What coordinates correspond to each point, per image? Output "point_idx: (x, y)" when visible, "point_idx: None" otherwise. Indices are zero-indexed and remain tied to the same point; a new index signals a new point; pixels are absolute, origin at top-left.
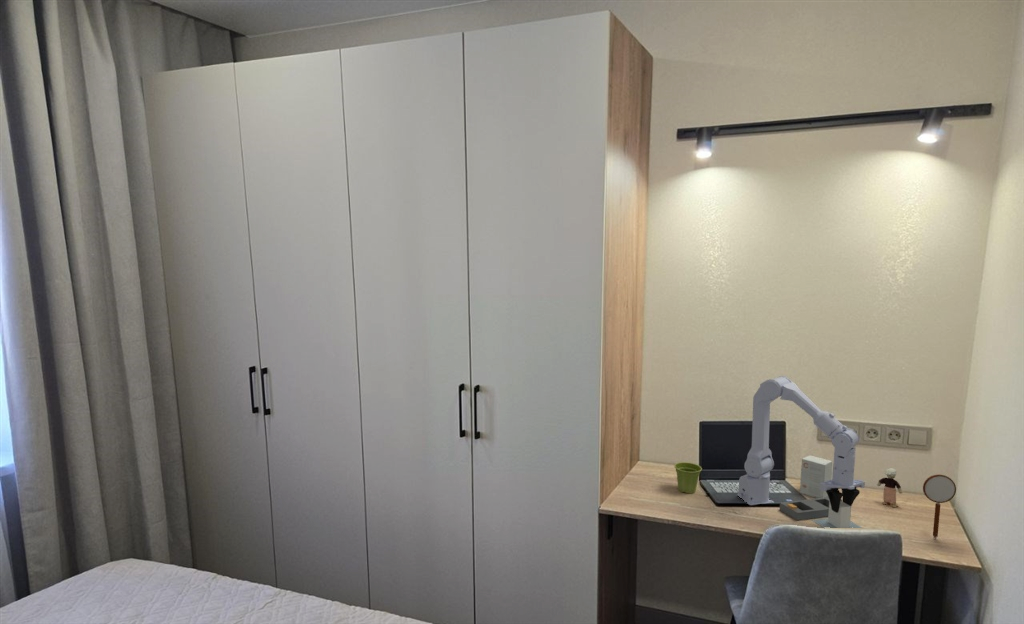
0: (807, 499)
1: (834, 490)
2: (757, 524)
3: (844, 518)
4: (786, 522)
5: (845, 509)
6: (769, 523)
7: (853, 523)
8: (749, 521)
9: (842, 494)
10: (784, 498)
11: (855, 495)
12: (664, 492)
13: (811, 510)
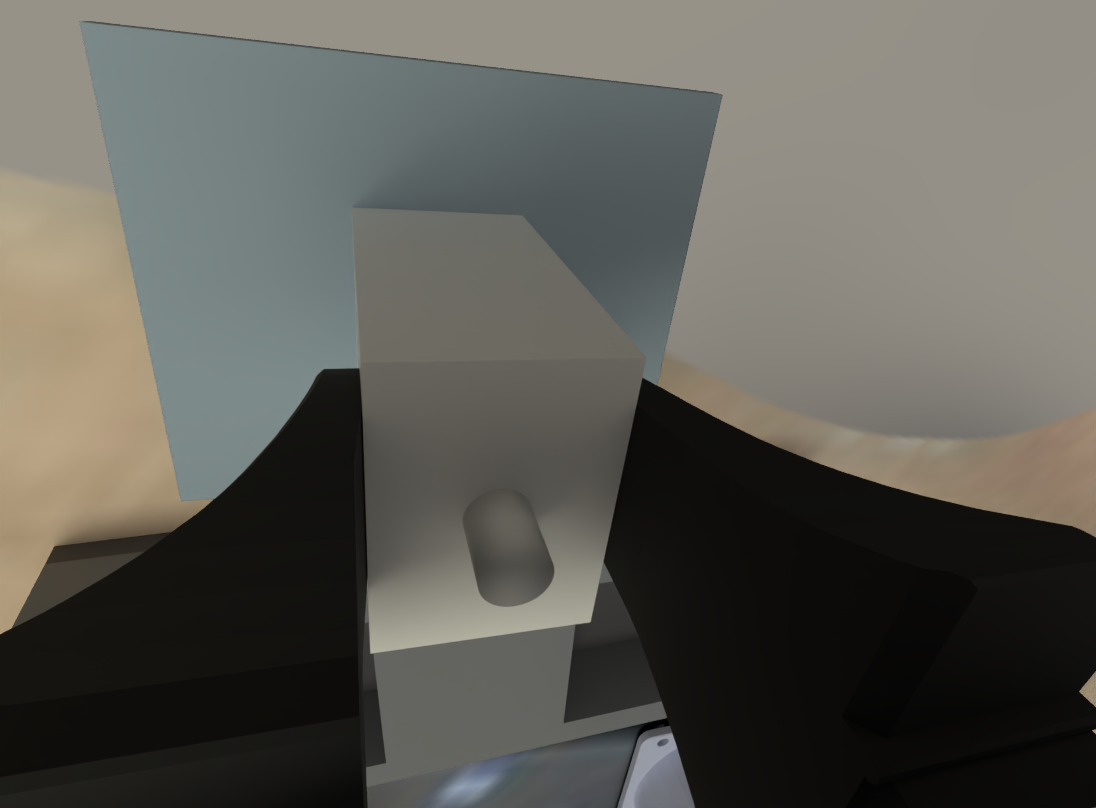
0: (447, 768)
1: (1028, 752)
2: (1056, 455)
3: (488, 262)
4: (848, 463)
5: (516, 334)
6: (974, 461)
7: (167, 327)
8: (1050, 499)
9: (934, 561)
10: (482, 804)
11: (201, 596)
12: None
13: None
